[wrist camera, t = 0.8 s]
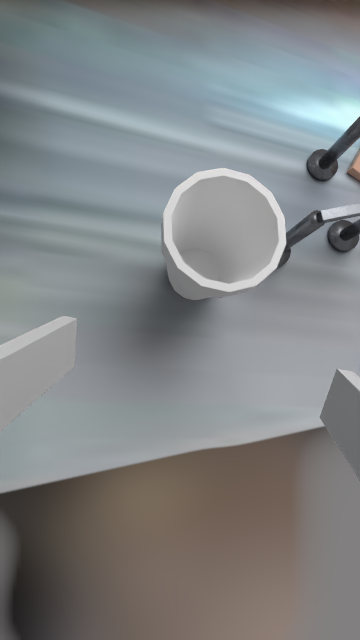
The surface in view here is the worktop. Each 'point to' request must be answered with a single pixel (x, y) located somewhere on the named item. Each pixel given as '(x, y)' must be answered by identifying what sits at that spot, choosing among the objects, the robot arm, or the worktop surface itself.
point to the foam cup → (221, 234)
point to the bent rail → (341, 232)
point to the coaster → (355, 167)
